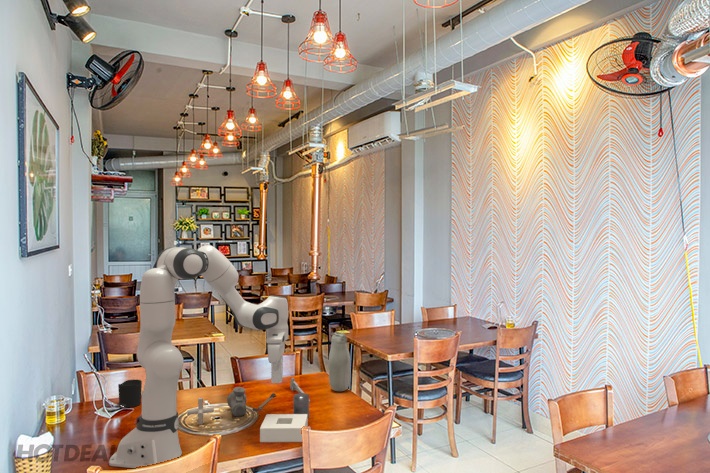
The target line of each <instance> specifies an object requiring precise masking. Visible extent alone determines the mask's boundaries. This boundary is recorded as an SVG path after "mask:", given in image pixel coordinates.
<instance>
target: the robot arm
mask: <svg viewBox="0 0 710 473" xmlns="http://www.w3.org/2000/svg"><path fill="white" fill-rule="evenodd" d="M239 275H240V274H239V273H238V270H237V269H236V267H235V266H234V264H233V263H232V262H231V260H229V259H228V258H227V257H226V256H225V255H224V253H223V252H221V251H220V250H218V249H217V248H216V247H215V246H213V245H211V244H205V245H202V246H201V247H199V248H197V249H196V248H195V249H194V248H190V247H188V248H187V247H183V246H176V247H175V246H174V247H171V246H170V247H167V248H165V249H163V250H161V252H159V254H158V255H157V257H156V260H155V262H154V265H153V267H152V268H149V269H147V270H146V271H145V272H143V274H142V276H141V280H140V289H139V314H140V315H139V317H140V318H139V319H140V321H139V322H140V326H139V335H138V343H137V349H136V359H137V361H138V362H137V363H138V364H139V365H140V366H141V367H142V368H143V369H144V371H145V380H144V387H143V390H142V391H141V413H140V414H139V416H138V417H137V418H136V419H135V420H134V421H133V422H134V424H133V425H134V426H136V427H134V428H133V429H132V430H131V431H129V432H128V433H127V434H126V435H125V436H123V437H122V439H121V440H120V441H119V443H118V444H117V450H116V451H115V452H114V453H113V455H111V456H110V458H109V461H108V466H110V467H119V468H129V469H130V468H131V469H137V468H136V467H139V466H141V467H142V466H147V465H152V464H156V463H160V462H164V461H167V460H171V459H174V458H177V457H179V458H180V457H181V456H182V453H183V451H182V449H181V448H182V447H181V446H180V440H179V439H180V438H179V433H178V432H179V431H178V429H179V421H180V420H179V412H178V409H177V408H178V404H177V401H178V400H177V398H178V393H177V392H178V384H179V382H180V381H179V379H180V376H181V371H182V370H183V367H184V364H185V363H184V362H185V361H184V357H183V354H182V353H181V351H180V349H179V348H178V347H176V346H175V345H173V342H172V339H173V338H172V337H173V331H174V327H175V325H176V300H175V299H176V296H175V295H176V294H175V287H176V285H177V282H178V280H192V279H196V278H197V277H199V276H201V277H202V278H203V280H205V282H206V283H207V284H208V285H209V286H210V287H211V288H212V289H213V290H214V291H215V292H216V293H217V294H218V295H219V297H220V298H221V299H222V301H223V302H224V303H225V304H226V305H227V307H228V308H229V309H230V311H231V313H232V315H233V319H234V321H235V323H236V324H237V325H238V326H239V327H240V328H241V327H242V328H247V329H248V328H249V329H253V330H257V331H266V333H265V334H266V338H265V342H266V344H267V357H268V363H269V364H271V363H273V370H274V371H278V362H279V360H280V358H281V357H282V356H283V355H284V353H285V351H286V350H285V347H286V346H285V344H286V341H287V340H289V325H288V319H289V303H288V300H287V298H286V297H285V296H281V295H275V294H274V295H273V294H272V295H269V296H268V297H267V298H266V299H265V300H263V302H261V303H258V304H256V303H251V302H249V301H246V300H245V299H244V298H243V297H242V296H241V294H240V293H239V291H238V290H237V289H236V286H237V284H238V282H239V277H240V276H239ZM177 459H178V458H177Z"/></svg>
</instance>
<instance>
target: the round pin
mask: <svg viewBox="0 0 710 473" xmlns="http://www.w3.org/2000/svg"><path fill="white" fill-rule="evenodd" d="M292 398H293V400H292V401H293V403H292V404H293V405H292V406H293V407H292V408H293V413H292V414H308V419H310V402H309V400H310V394H308V393H305V392H304V393H299V392H298V393H295V394H294V395H293V397H292Z"/></svg>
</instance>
